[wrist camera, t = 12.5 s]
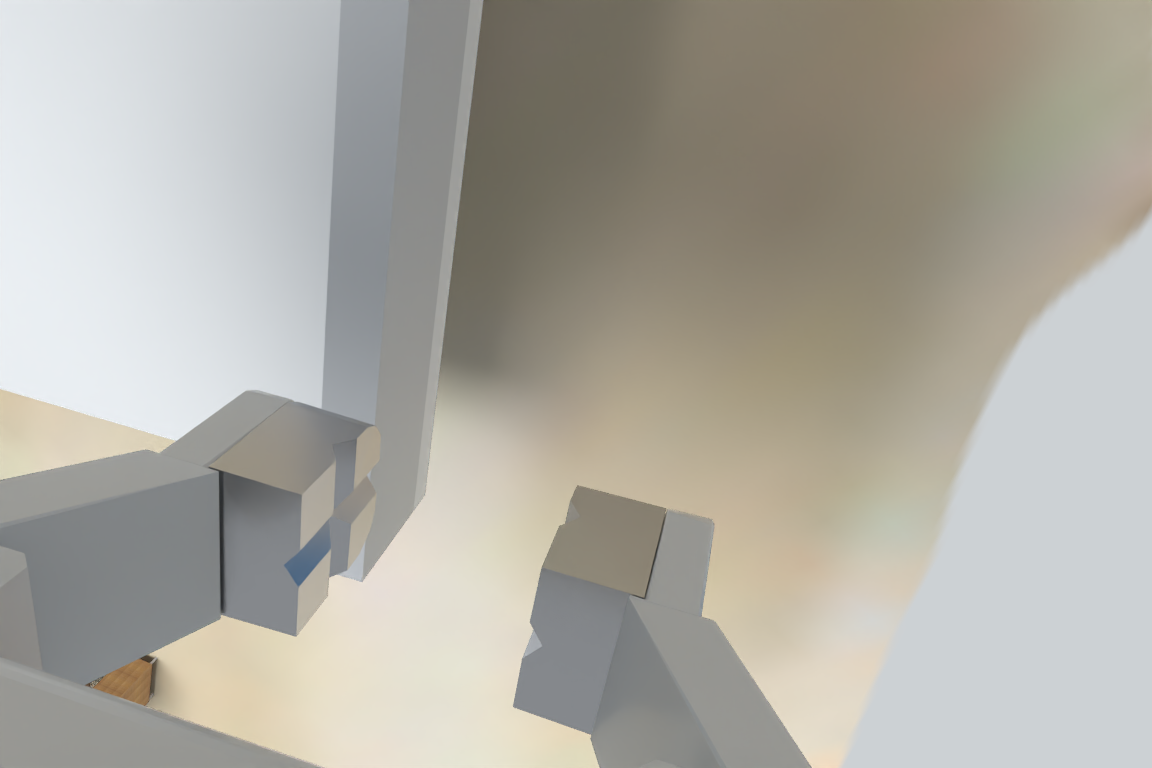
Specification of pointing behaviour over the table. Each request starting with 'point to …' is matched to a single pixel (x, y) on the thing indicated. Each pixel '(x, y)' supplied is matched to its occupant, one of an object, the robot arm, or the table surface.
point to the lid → (235, 212)
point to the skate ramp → (129, 682)
